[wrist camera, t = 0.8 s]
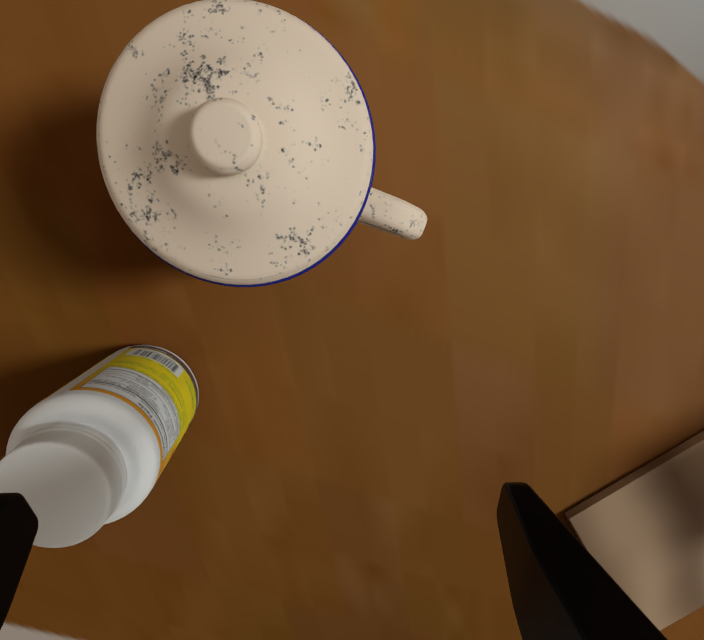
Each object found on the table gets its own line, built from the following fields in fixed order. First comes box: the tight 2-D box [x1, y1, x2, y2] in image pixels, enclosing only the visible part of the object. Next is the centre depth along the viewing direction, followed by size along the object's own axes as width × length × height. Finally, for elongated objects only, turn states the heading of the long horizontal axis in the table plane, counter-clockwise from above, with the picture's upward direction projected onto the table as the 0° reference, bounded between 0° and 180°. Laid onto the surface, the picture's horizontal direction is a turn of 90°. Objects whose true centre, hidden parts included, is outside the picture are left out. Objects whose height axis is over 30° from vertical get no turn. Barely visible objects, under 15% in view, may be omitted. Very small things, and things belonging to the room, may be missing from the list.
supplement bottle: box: [0, 345, 199, 548], centre depth 21 cm, size 6×6×10 cm
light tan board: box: [565, 431, 704, 631], centre depth 30 cm, size 11×11×1 cm
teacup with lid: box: [96, 0, 427, 287], centre depth 19 cm, size 12×9×12 cm
